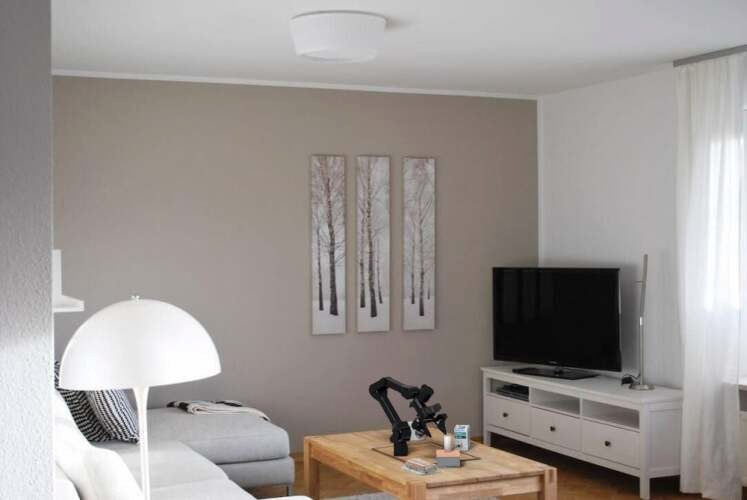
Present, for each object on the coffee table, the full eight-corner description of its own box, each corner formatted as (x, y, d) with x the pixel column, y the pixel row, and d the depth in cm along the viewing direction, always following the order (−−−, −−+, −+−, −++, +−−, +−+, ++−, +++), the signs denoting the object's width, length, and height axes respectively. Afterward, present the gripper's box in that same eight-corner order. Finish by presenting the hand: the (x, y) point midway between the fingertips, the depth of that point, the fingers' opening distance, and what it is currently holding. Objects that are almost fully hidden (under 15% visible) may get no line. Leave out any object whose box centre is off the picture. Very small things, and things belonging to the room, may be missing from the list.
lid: (436, 459, 439) (436, 438, 439) (436, 454, 449) (435, 434, 449) (460, 459, 438) (459, 438, 438) (459, 454, 449) (458, 433, 449)
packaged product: (440, 462, 430) (421, 465, 425) (441, 474, 430) (421, 477, 425) (419, 455, 446) (400, 458, 441) (419, 466, 446) (400, 469, 441)
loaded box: (437, 468, 439) (437, 457, 439) (437, 463, 449) (436, 452, 449) (459, 467, 438) (459, 456, 438) (459, 462, 448) (458, 451, 448)
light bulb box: (468, 451, 474) (467, 428, 474) (454, 450, 475) (453, 428, 475) (470, 446, 484) (469, 424, 484) (456, 446, 486) (456, 424, 486)
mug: (412, 436, 514) (411, 420, 514) (429, 438, 508) (428, 422, 508) (397, 440, 503) (397, 424, 503) (414, 442, 497) (414, 426, 497)
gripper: (414, 400, 446) (431, 427, 438) (444, 395, 458) (461, 422, 450) (403, 415, 452) (420, 443, 444) (433, 410, 464) (450, 437, 456)
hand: (438, 435), depth 448 cm, fingers open, 9 cm apart
